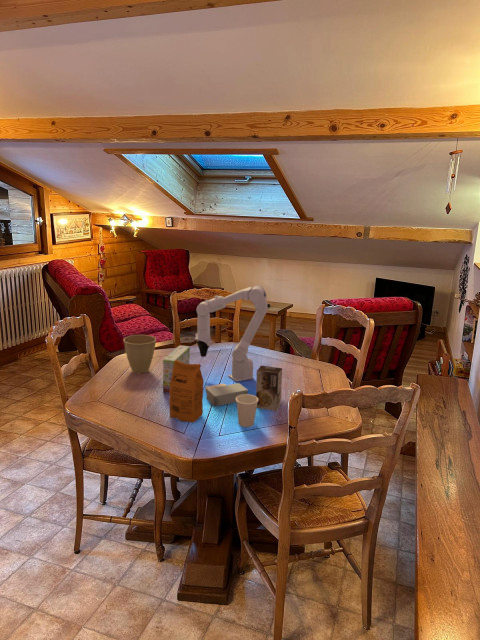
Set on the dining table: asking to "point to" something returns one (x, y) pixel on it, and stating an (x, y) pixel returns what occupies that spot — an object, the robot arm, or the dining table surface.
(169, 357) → the snack box
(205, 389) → the tile
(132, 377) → the dining table surface
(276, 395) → the coffee box
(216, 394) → the beige slab
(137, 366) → the plant pot
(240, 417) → the dixie cup
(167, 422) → the dining table surface
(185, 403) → the coffee package
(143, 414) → the dining table surface
